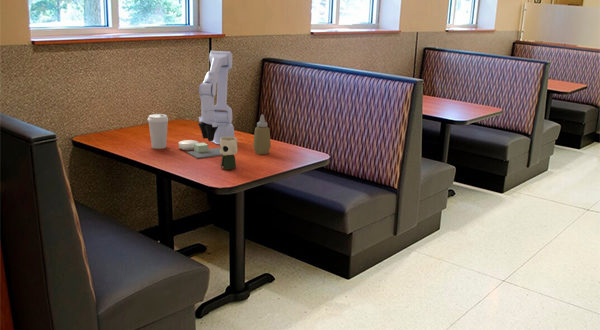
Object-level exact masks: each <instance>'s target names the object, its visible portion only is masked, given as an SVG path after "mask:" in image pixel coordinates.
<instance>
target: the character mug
mask: <svg viewBox="0 0 600 330" xmlns="http://www.w3.org/2000/svg"><path fill="white" fill-rule="evenodd" d="M219 148H220V153H221V154H223V155H222V156H221V163H220V168H221V169H223V170H233V169H235V168H237V161H236V156H235V155H236V154H237V153H238V138H237V137H235V136H234V137H221V138H220V144H219Z"/></svg>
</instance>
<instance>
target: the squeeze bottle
mask: <svg viewBox="0 0 600 330" xmlns="http://www.w3.org/2000/svg"><path fill="white" fill-rule="evenodd" d="M270 132H271V131H270V128H269V126H268V122H267V121H266V120H265V115H264V114H260V118H259V121H258V122H256V126H255V128H254V134H253V142H252V146H253V150H254V152H255V154H256V155H268V154H269V152H270V150H271V147H272V143H271V133H270Z"/></svg>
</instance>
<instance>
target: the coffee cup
mask: <svg viewBox="0 0 600 330" xmlns="http://www.w3.org/2000/svg"><path fill="white" fill-rule="evenodd" d="M168 121H169V118H168V115H167V114H163V113H154V114H150V115H148V117H147V122H148V126H149V134H150V141H151V143H150V144H151V148H152V149H155V150H156V149H157V150H161V149H166V148H167V137H168V136H167V135H168Z"/></svg>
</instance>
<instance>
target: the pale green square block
mask: <svg viewBox="0 0 600 330" xmlns="http://www.w3.org/2000/svg"><path fill="white" fill-rule="evenodd" d="M208 149H209V144H207V143H206V142H198V143H196V144H194V150H193V151H196V152H198V153H199V152H207V151H208Z"/></svg>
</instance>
